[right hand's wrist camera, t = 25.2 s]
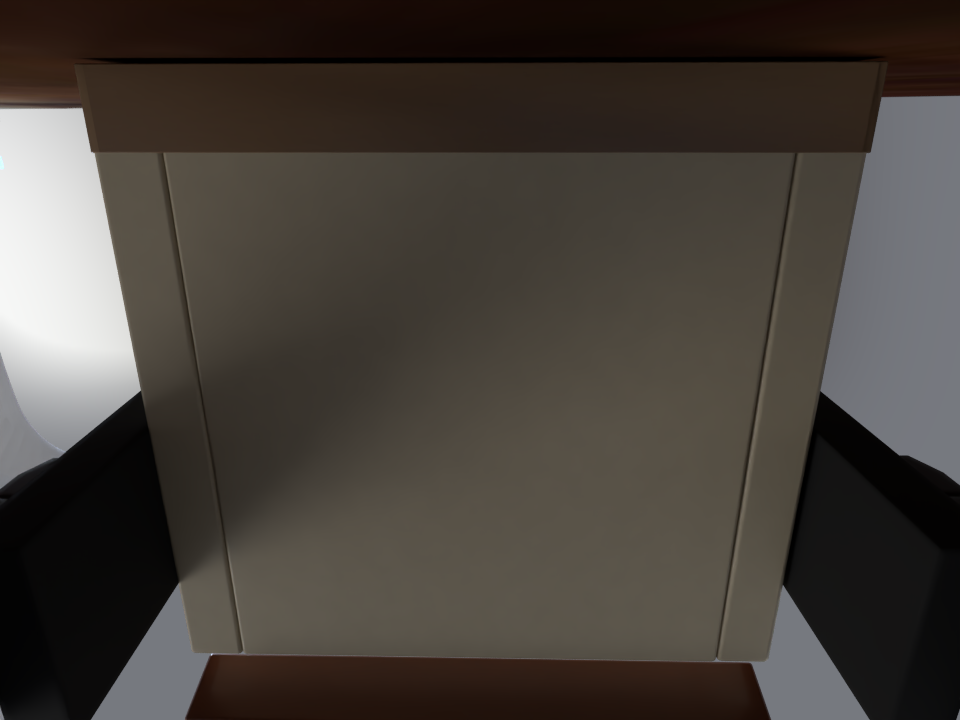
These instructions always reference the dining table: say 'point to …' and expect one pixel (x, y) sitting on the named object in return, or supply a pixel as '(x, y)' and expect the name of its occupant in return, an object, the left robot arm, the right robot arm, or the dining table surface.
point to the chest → (481, 342)
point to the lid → (472, 689)
